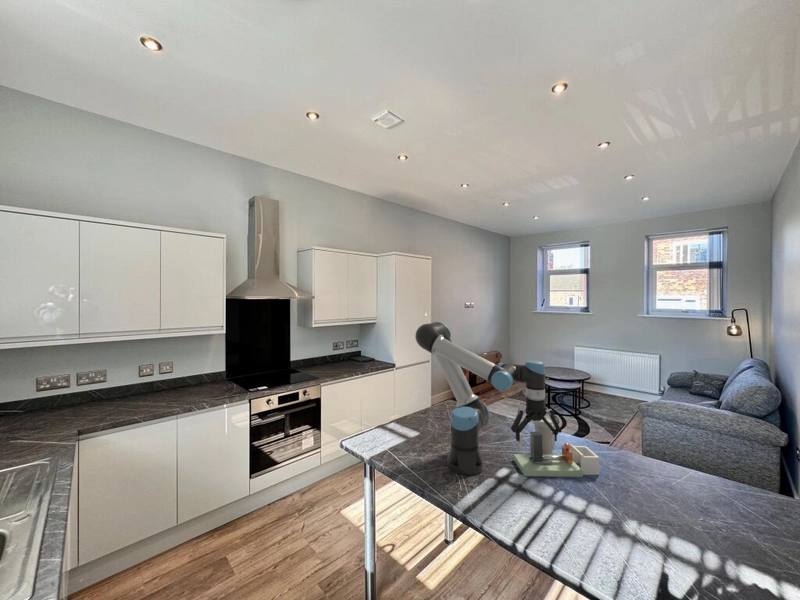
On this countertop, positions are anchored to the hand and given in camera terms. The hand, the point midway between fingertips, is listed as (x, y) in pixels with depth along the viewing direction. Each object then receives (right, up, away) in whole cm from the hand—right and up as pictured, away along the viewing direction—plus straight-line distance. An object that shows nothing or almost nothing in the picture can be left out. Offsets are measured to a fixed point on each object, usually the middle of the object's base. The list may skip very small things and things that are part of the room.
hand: (536, 448), depth 132 cm
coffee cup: (+10, -8, +14) cm, 19 cm away
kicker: (+6, -5, 0) cm, 8 cm away
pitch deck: (+4, -8, 0) cm, 9 cm away
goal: (+19, -8, -1) cm, 21 cm away
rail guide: (+2, -6, 0) cm, 6 cm away
